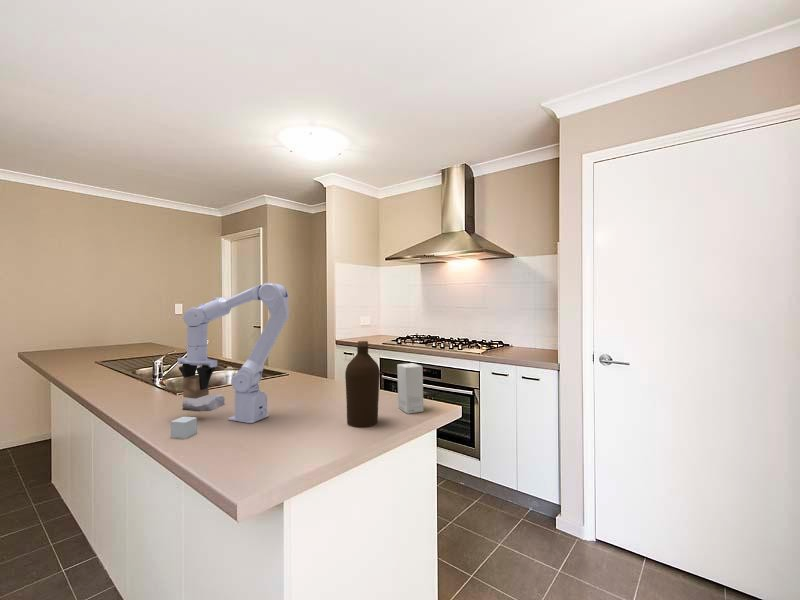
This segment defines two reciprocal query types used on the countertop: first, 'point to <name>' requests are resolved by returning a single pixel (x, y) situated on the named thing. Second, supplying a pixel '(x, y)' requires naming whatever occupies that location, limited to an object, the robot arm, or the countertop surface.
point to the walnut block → (193, 387)
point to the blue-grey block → (183, 427)
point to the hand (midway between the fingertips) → (197, 388)
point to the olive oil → (362, 388)
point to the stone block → (204, 402)
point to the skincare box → (410, 388)
